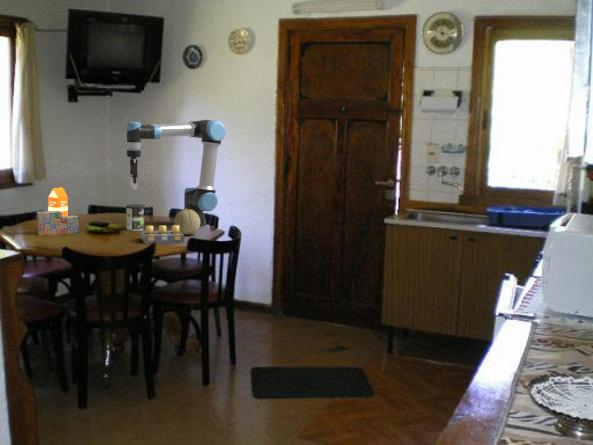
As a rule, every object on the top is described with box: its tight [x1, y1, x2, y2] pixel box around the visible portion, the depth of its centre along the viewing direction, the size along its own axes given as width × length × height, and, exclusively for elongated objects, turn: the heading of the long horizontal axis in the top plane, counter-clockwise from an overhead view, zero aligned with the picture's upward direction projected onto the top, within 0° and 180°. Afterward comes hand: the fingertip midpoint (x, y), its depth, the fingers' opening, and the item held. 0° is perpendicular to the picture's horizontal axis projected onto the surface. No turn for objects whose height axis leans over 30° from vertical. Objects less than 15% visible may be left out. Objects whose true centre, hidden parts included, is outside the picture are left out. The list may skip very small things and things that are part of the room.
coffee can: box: [125, 204, 145, 232], centre depth 415 cm, size 10×10×14 cm
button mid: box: [158, 224, 167, 234], centre depth 385 cm, size 4×4×5 cm
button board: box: [140, 230, 185, 244], centre depth 386 cm, size 21×14×4 cm
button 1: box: [145, 225, 154, 234], centre depth 383 cm, size 4×4×5 cm
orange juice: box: [47, 187, 69, 216], centre depth 434 cm, size 8×9×20 cm
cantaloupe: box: [174, 208, 201, 236], centre depth 405 cm, size 15×15×15 cm
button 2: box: [171, 224, 179, 234], centre depth 388 cm, size 4×4×5 cm
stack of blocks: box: [36, 210, 80, 236], centre depth 394 cm, size 21×6×12 cm, turn 117°
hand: (133, 187), depth 400 cm, fingers open, 13 cm apart
